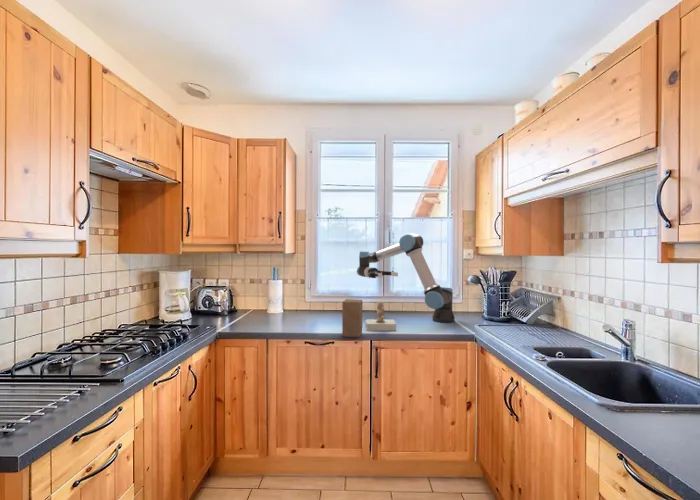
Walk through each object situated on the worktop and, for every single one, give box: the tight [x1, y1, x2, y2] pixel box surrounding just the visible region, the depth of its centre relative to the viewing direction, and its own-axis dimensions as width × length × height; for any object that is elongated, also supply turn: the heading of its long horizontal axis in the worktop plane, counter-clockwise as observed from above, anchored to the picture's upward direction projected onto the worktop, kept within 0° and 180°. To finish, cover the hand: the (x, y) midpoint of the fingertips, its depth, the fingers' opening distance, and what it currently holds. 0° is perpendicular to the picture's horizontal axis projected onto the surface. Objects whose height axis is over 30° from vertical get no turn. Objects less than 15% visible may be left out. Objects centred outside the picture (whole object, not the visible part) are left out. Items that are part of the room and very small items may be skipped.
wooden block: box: [341, 298, 363, 338], centre depth 212 cm, size 10×10×20 cm
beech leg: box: [376, 301, 385, 323], centre depth 229 cm, size 4×4×16 cm
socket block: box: [365, 318, 397, 332], centre depth 229 cm, size 18×13×4 cm
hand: (389, 274), depth 246 cm, fingers open, 13 cm apart
